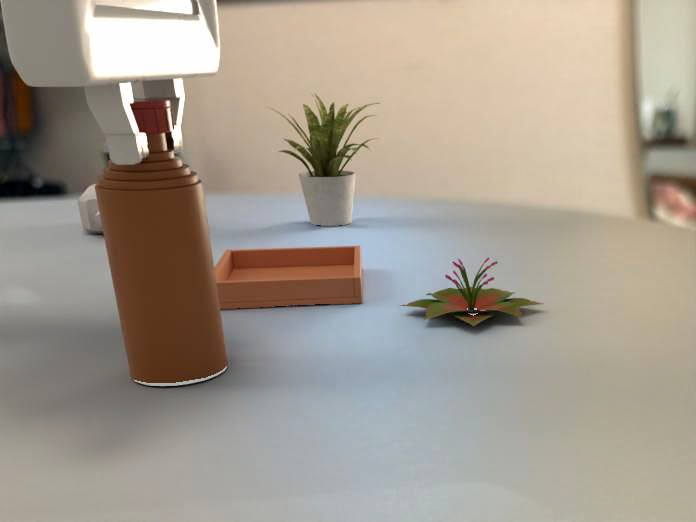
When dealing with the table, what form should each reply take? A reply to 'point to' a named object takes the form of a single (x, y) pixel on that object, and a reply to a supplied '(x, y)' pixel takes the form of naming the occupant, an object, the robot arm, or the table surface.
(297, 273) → the tray
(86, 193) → the white faceted rock
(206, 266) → the bottle
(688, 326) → the table surface
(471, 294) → the flowering rosette plant
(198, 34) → the robot arm
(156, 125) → the cap
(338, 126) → the house plant
